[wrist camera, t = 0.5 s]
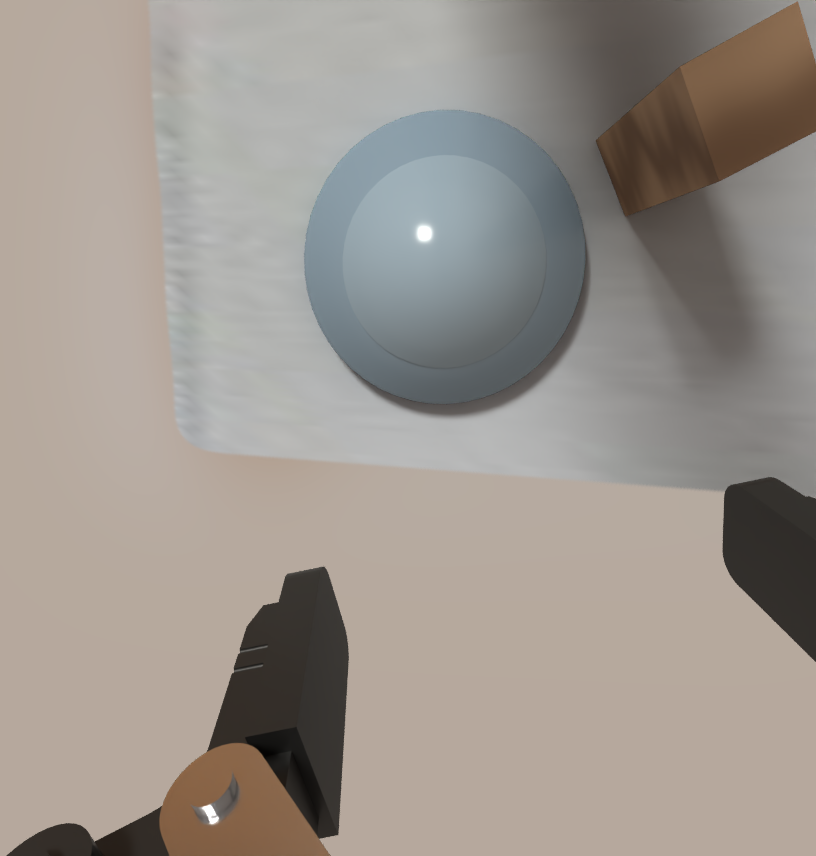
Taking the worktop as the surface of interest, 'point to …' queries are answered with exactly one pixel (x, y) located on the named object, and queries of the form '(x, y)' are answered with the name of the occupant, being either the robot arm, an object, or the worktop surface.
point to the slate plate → (444, 256)
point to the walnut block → (715, 114)
